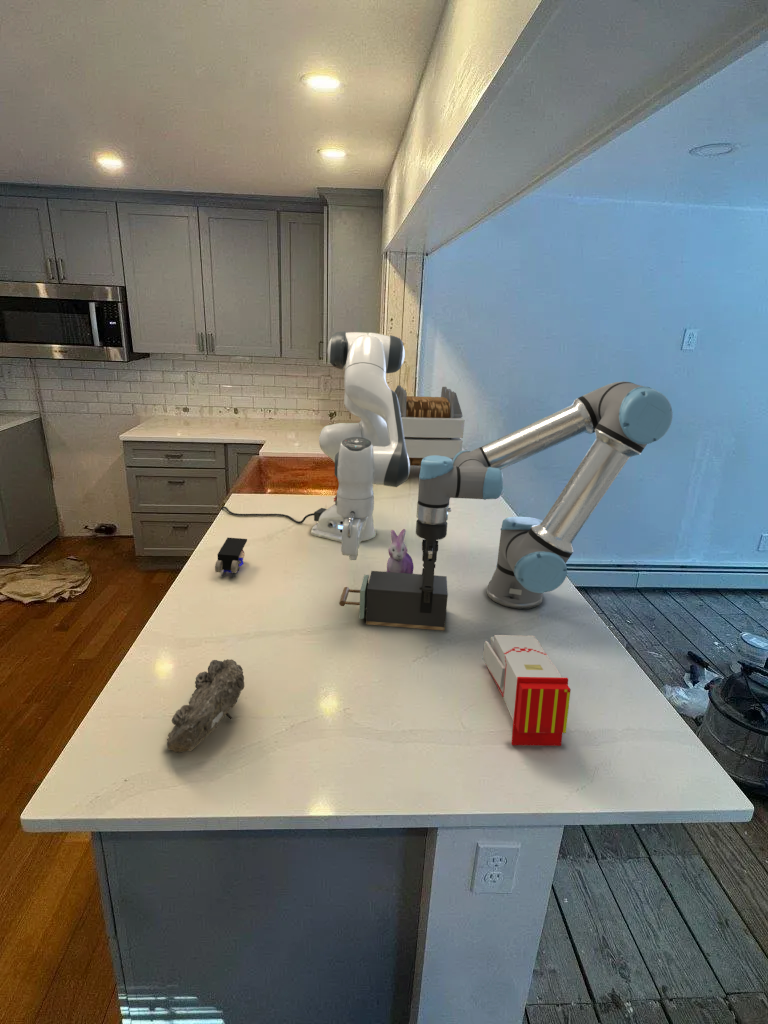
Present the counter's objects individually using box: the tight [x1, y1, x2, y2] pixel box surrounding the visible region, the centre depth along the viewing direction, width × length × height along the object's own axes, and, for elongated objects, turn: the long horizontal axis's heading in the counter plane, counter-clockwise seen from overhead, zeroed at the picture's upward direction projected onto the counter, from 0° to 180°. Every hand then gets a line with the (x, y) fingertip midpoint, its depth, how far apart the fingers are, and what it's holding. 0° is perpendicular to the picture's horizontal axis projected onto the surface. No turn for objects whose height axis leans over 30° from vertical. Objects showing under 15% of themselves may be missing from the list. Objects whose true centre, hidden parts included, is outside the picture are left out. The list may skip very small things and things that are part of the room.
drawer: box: [338, 574, 370, 620], centre depth 145 cm, size 24×9×8 cm, turn 86°
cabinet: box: [365, 570, 449, 631], centre depth 145 cm, size 20×10×10 cm, turn 85°
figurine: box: [386, 528, 415, 574], centre depth 164 cm, size 9×10×15 cm
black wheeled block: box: [214, 537, 248, 578], centre depth 166 cm, size 7×8×15 cm
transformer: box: [394, 384, 465, 467], centre depth 268 cm, size 34×33×41 cm
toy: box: [482, 634, 572, 747], centre depth 115 cm, size 12×13×30 cm
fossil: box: [166, 658, 245, 754], centre depth 106 cm, size 22×10×15 cm
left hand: (353, 558), depth 142 cm, fingers closed
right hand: (425, 601), depth 144 cm, fingers closed on cabinet, 10 cm apart
